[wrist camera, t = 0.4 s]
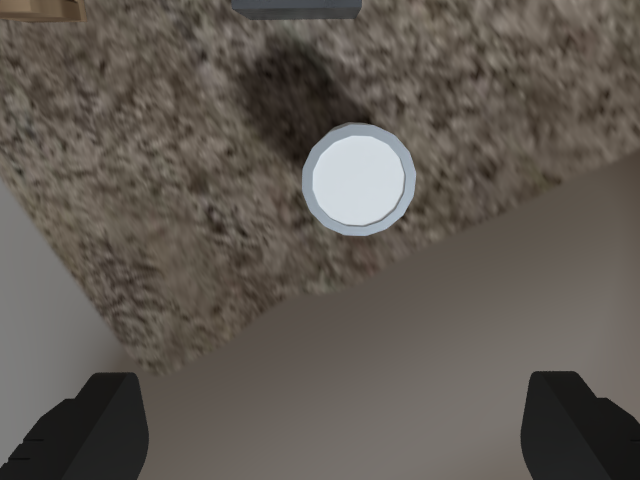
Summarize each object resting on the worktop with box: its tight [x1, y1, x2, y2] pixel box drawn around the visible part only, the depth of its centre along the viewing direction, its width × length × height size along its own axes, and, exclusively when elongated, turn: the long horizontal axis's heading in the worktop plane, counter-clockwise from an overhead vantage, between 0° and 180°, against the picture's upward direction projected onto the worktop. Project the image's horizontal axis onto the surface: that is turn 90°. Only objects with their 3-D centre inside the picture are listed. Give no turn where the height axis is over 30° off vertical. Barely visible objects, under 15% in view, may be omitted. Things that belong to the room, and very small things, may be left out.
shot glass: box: [302, 122, 416, 236], centre depth 32 cm, size 7×7×7 cm
